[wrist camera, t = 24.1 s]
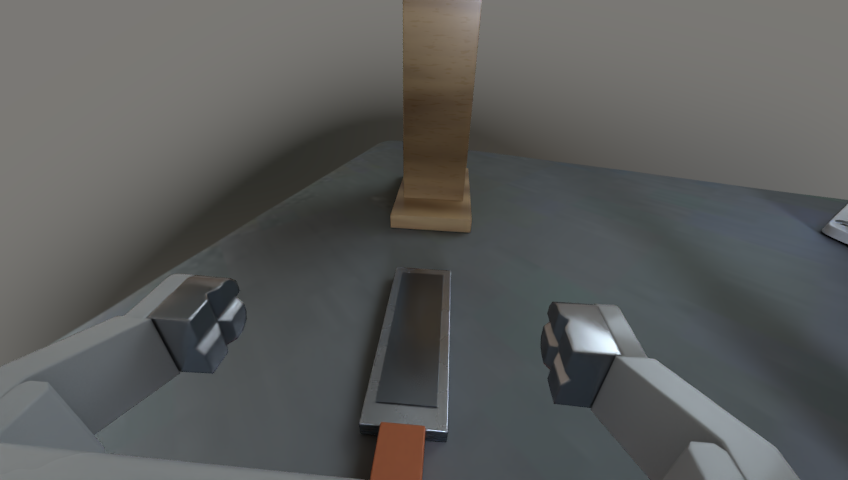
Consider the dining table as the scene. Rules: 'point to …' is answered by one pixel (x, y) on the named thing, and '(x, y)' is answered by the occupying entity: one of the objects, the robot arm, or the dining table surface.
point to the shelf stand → (437, 113)
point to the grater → (410, 374)
